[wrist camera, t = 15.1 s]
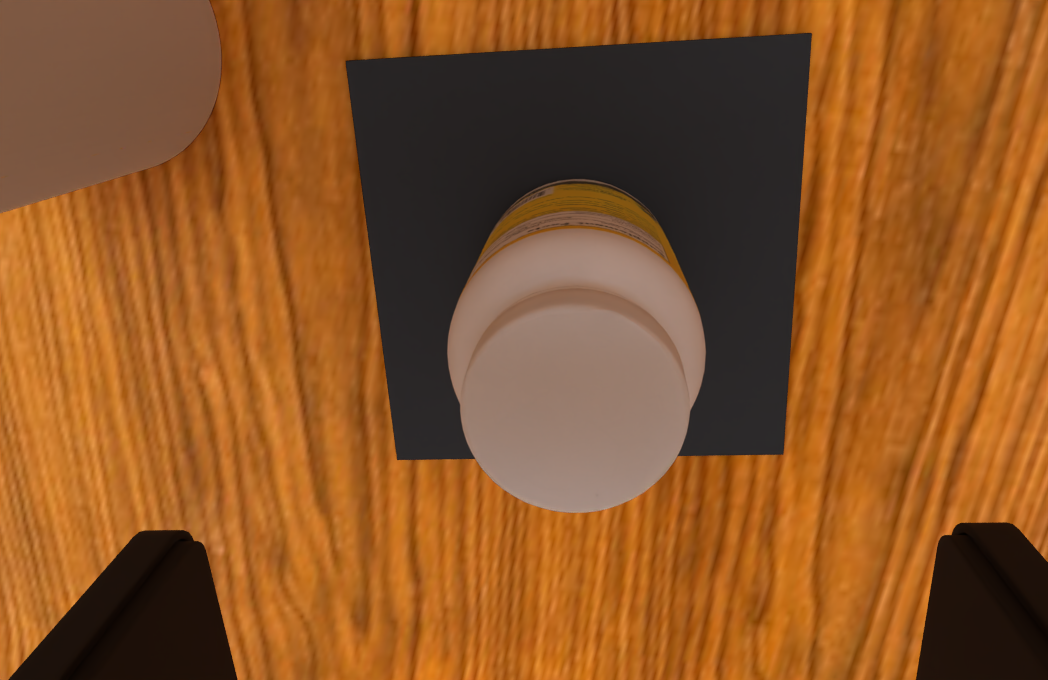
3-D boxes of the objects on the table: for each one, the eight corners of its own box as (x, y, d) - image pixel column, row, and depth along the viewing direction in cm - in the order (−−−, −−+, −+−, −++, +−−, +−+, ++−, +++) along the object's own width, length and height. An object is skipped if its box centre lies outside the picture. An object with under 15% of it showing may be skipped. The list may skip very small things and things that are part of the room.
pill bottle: (632, 378, 27) (659, 583, 17) (462, 321, 27) (387, 495, 17) (702, 210, 25) (782, 330, 15) (518, 147, 25) (470, 224, 15)
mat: (398, 457, 29) (397, 460, 29) (346, 60, 25) (345, 60, 24) (782, 451, 28) (783, 454, 28) (810, 33, 23) (811, 33, 23)
